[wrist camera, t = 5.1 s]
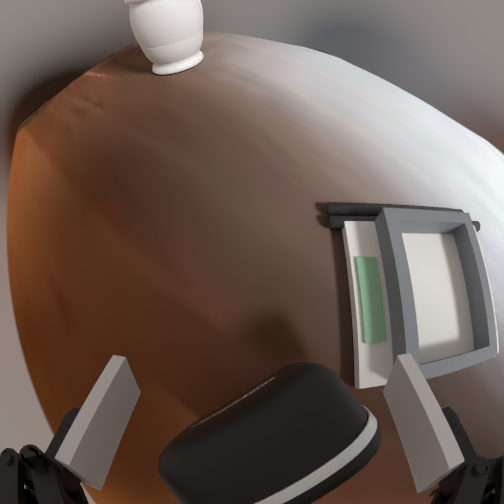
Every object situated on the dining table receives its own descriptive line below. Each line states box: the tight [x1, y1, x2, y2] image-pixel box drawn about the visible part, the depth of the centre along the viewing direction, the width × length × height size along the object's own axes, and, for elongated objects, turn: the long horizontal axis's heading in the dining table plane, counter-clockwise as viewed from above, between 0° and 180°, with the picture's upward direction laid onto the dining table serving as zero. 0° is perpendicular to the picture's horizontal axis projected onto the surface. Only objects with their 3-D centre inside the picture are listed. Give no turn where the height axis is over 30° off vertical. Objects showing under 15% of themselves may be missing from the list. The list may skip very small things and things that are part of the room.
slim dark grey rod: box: [327, 202, 480, 232], centre depth 20 cm, size 16×2×1 cm, turn 90°
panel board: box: [342, 208, 499, 389], centre depth 16 cm, size 14×12×3 cm
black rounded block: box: [158, 362, 381, 504], centre depth 10 cm, size 7×4×11 cm, turn 125°
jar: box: [124, 0, 204, 75], centre depth 27 cm, size 11×10×15 cm
